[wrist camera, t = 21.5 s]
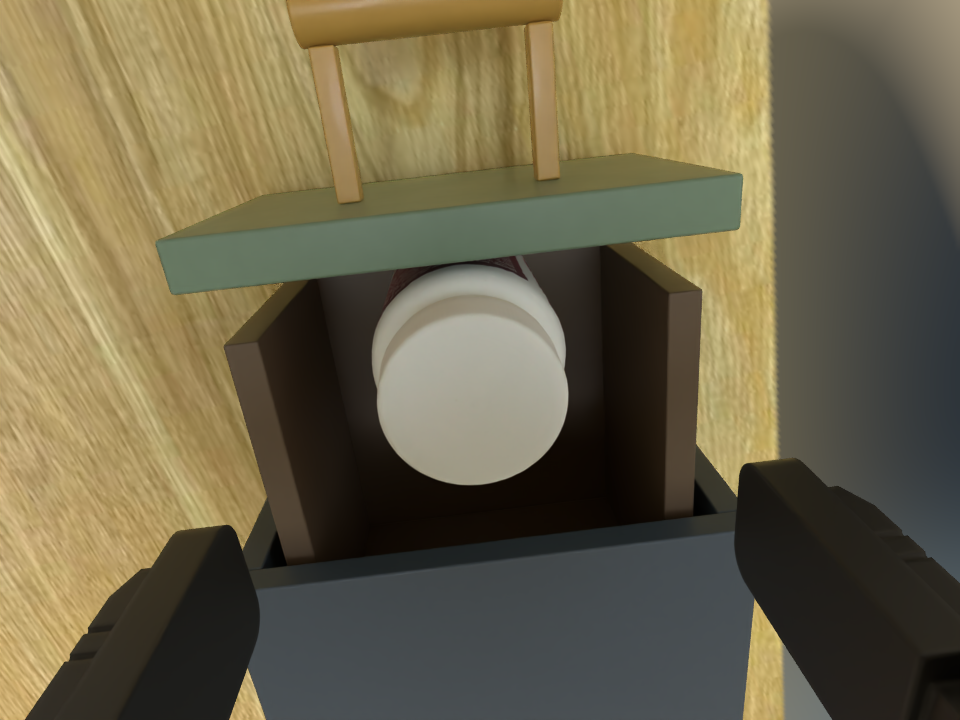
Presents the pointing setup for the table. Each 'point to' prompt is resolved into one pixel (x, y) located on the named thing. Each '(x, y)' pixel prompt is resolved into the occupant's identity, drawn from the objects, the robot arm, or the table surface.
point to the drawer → (450, 239)
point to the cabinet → (512, 625)
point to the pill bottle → (469, 369)
